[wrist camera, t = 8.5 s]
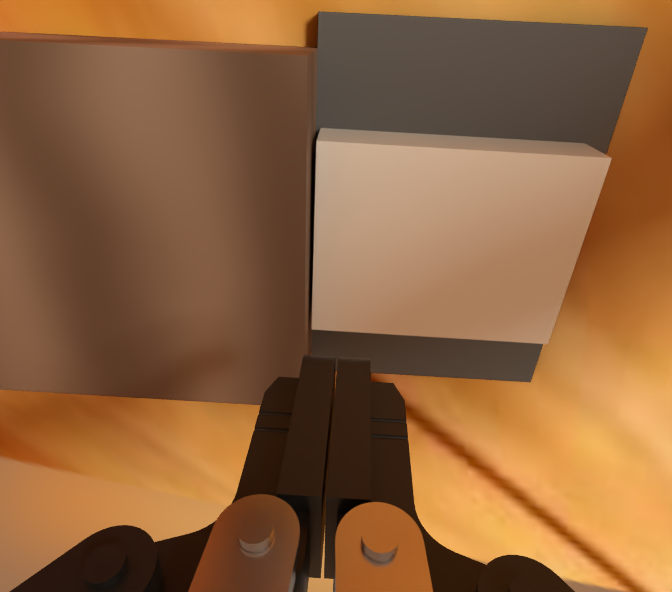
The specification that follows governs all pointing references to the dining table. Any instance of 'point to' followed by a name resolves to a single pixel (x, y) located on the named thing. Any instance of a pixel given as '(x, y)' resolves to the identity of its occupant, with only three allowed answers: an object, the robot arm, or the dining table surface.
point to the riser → (155, 216)
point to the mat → (466, 127)
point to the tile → (448, 233)
